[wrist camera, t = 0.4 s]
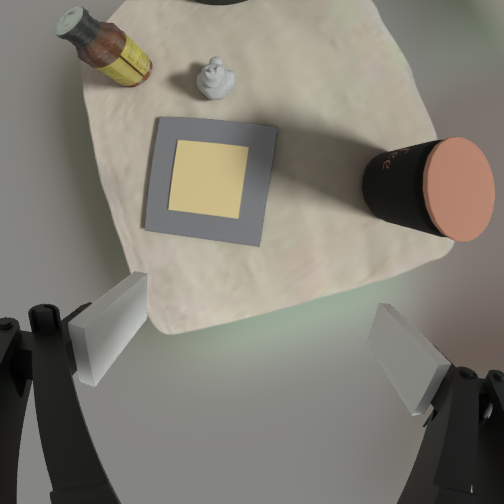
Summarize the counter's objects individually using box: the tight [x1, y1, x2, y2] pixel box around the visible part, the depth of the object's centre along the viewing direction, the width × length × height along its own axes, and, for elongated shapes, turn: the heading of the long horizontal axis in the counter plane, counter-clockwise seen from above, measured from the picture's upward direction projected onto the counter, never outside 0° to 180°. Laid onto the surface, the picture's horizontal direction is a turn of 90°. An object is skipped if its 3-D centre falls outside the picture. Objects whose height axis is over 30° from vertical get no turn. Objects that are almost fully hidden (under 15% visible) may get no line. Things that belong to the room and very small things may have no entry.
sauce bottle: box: [55, 6, 152, 87], centre depth 25 cm, size 7×6×20 cm
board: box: [145, 117, 277, 247], centre depth 38 cm, size 17×17×1 cm
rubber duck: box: [196, 57, 235, 100], centre depth 32 cm, size 5×7×8 cm
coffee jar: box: [362, 137, 495, 242], centre depth 30 cm, size 11×11×18 cm
